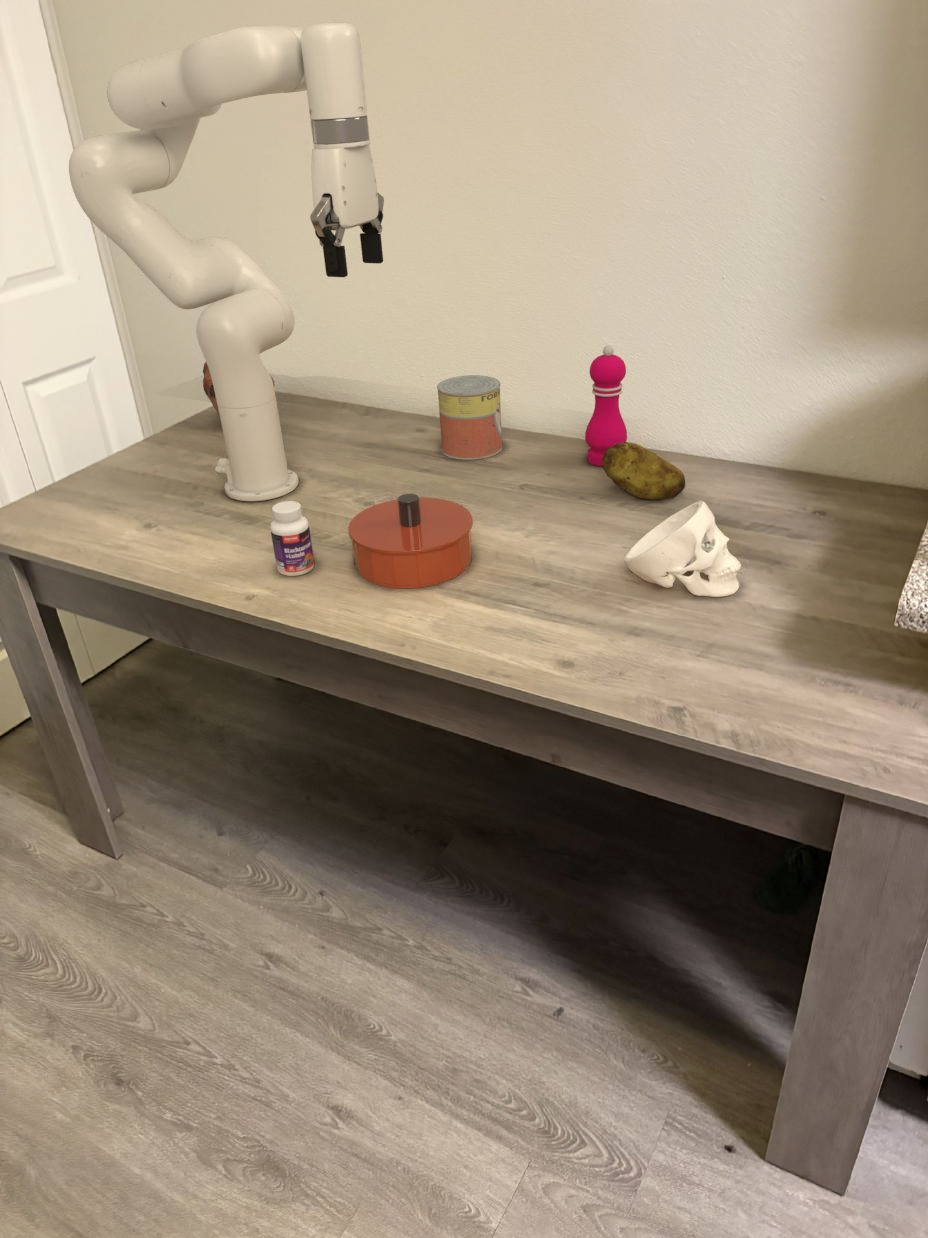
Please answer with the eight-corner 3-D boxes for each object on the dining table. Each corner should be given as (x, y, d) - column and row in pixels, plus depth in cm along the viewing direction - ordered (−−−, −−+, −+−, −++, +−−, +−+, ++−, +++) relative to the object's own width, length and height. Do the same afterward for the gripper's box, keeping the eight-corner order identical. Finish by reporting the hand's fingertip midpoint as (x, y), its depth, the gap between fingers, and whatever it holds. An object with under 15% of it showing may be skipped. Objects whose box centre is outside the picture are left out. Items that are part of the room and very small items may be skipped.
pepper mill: (629, 454, 163) (634, 340, 153) (621, 469, 157) (626, 352, 147) (589, 451, 165) (591, 338, 155) (580, 466, 159) (581, 350, 149)
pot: (334, 576, 130) (329, 541, 127) (392, 528, 142) (388, 495, 139) (439, 597, 123) (436, 560, 120) (489, 544, 136) (488, 510, 133)
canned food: (503, 458, 165) (500, 392, 158) (440, 461, 165) (435, 395, 159) (501, 436, 174) (499, 373, 168) (442, 439, 175) (438, 376, 168)
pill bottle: (289, 581, 129) (278, 518, 124) (270, 568, 133) (259, 506, 128) (322, 568, 132) (312, 506, 127) (303, 556, 136) (293, 495, 131)
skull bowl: (745, 602, 115) (698, 519, 112) (650, 634, 124) (605, 558, 121) (762, 564, 123) (719, 486, 120) (672, 597, 131) (630, 524, 129)
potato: (660, 512, 142) (663, 463, 138) (593, 492, 150) (594, 446, 146) (690, 495, 147) (693, 447, 143) (623, 476, 155) (625, 431, 150)
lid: (325, 546, 127) (320, 514, 124) (388, 497, 140) (384, 467, 138) (438, 567, 120) (435, 533, 117) (493, 513, 133) (491, 481, 131)
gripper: (350, 129, 130) (364, 257, 139) (279, 140, 117) (299, 281, 126) (397, 127, 127) (407, 258, 136) (329, 138, 114) (345, 283, 123)
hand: (355, 269), depth 131 cm, fingers open, 9 cm apart
